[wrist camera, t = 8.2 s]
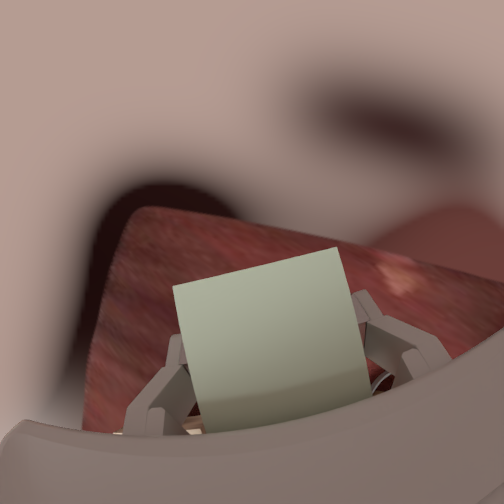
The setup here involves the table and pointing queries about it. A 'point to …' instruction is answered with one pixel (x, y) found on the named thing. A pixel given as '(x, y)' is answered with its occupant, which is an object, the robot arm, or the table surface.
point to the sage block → (272, 342)
